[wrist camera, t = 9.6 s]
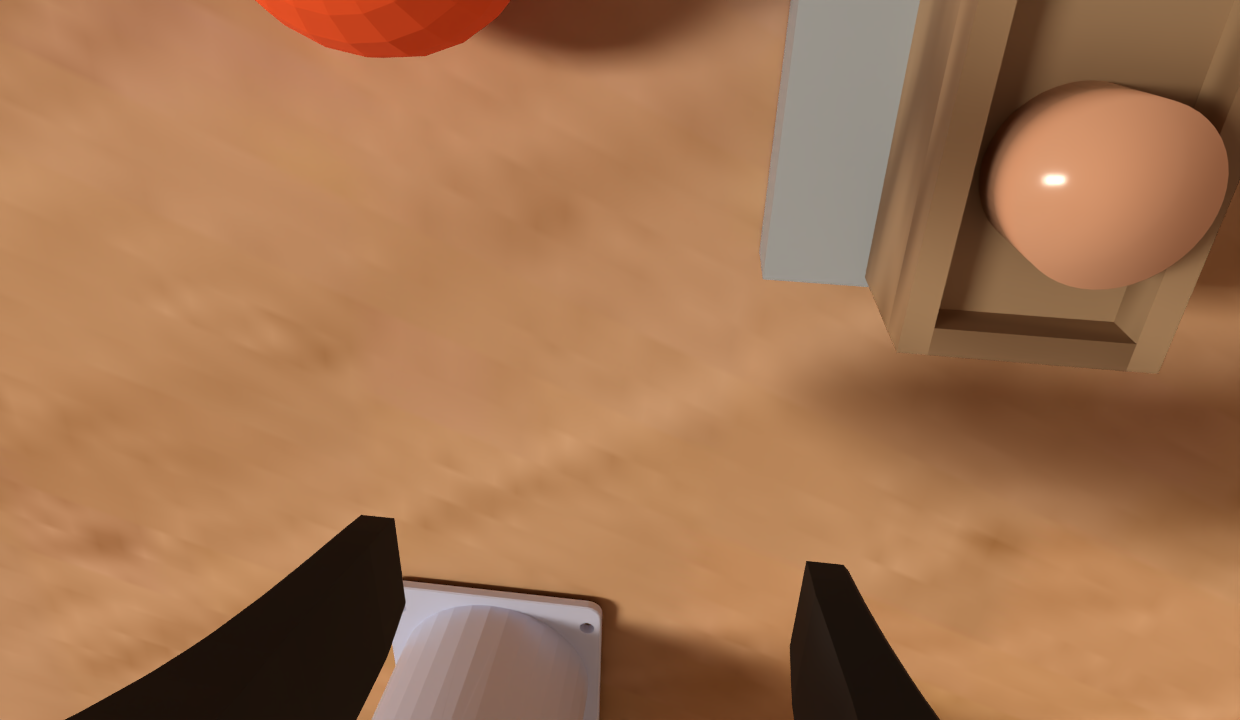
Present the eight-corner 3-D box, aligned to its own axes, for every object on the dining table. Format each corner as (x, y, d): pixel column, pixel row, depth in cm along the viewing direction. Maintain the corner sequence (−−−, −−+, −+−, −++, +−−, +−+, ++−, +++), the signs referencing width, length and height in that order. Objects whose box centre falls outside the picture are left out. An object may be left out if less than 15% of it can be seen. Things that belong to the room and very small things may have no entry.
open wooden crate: (1076, 293, 19) (1158, 373, 15) (864, 277, 19) (896, 352, 16) (1197, -61, 15) (1340, -62, 12) (934, -71, 16) (995, -75, 12)
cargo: (1104, 270, 15) (1155, 310, 14) (950, 226, 15) (980, 260, 13) (1201, 109, 14) (1273, 129, 12) (1030, 57, 14) (1077, 71, 12)
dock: (1144, 278, 20) (1211, 332, 18) (759, 251, 21) (765, 298, 18) (1298, -126, 16) (1421, -141, 13) (807, -140, 17) (824, -155, 14)
